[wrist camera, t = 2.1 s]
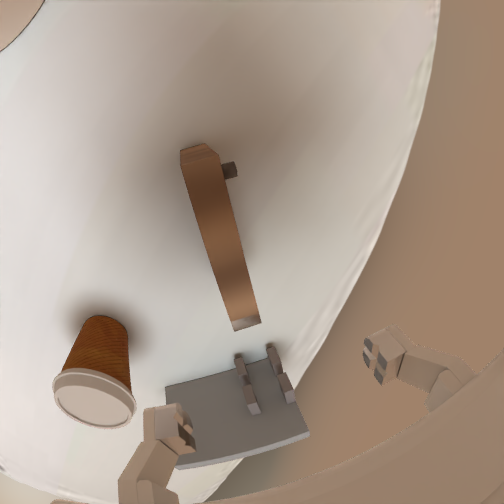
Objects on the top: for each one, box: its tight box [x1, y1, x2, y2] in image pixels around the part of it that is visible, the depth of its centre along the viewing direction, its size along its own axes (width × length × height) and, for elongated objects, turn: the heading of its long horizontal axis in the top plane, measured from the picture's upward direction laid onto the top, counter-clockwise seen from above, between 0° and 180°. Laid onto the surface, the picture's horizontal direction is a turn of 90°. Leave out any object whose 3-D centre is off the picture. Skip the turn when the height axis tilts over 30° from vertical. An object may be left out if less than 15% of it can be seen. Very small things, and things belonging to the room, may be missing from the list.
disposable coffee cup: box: [52, 316, 137, 429], centre depth 26 cm, size 10×10×12 cm
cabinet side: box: [165, 347, 310, 470], centre depth 33 cm, size 5×18×14 cm, turn 102°
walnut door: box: [180, 143, 261, 332], centre depth 24 cm, size 14×4×10 cm, turn 12°
